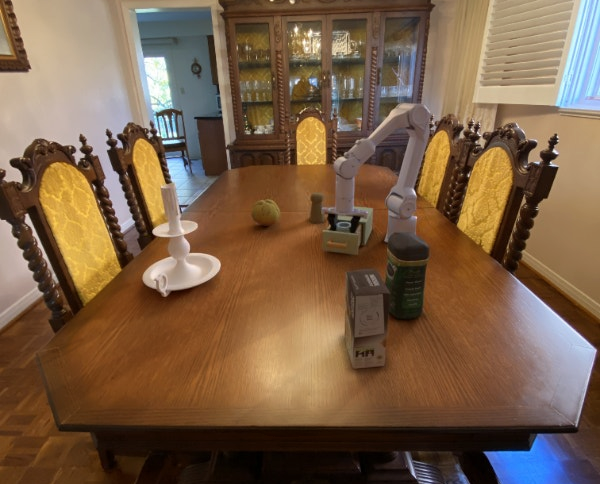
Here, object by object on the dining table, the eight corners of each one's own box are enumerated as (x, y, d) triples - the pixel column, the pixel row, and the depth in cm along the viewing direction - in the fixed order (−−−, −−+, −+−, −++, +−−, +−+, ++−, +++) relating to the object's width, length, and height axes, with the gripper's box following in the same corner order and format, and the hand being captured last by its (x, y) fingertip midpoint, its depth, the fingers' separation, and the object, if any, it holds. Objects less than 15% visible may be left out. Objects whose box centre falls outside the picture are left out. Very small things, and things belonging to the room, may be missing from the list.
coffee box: (386, 366, 65) (392, 293, 59) (352, 369, 65) (355, 296, 59) (372, 334, 74) (376, 267, 68) (342, 336, 73) (344, 270, 67)
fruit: (246, 229, 131) (244, 203, 127) (261, 218, 141) (259, 195, 137) (272, 232, 127) (271, 206, 123) (285, 221, 137) (284, 197, 133)
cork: (323, 223, 134) (323, 196, 130) (308, 222, 135) (307, 195, 131) (325, 217, 140) (325, 191, 136) (311, 217, 141) (310, 191, 137)
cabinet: (364, 245, 114) (365, 222, 111) (327, 241, 118) (328, 218, 115) (372, 229, 127) (373, 208, 124) (338, 226, 131) (338, 205, 128)
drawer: (354, 261, 103) (355, 240, 100) (317, 255, 106) (317, 236, 104) (365, 238, 118) (366, 219, 116) (333, 234, 122) (333, 216, 119)
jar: (353, 238, 114) (353, 222, 112) (349, 244, 109) (350, 228, 107) (338, 236, 115) (338, 221, 113) (334, 242, 111) (334, 226, 109)
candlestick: (120, 309, 84) (92, 200, 74) (164, 261, 107) (148, 173, 97) (202, 311, 83) (185, 200, 72) (229, 262, 106) (219, 172, 95)
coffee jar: (427, 319, 78) (437, 244, 71) (393, 322, 77) (400, 247, 70) (409, 295, 87) (416, 227, 80) (378, 298, 86) (383, 229, 79)
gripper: (318, 198, 106) (318, 238, 111) (365, 202, 101) (363, 244, 106) (324, 192, 112) (324, 230, 117) (369, 195, 107) (367, 235, 112)
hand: (343, 236), depth 112 cm, fingers closed on jar, 5 cm apart
